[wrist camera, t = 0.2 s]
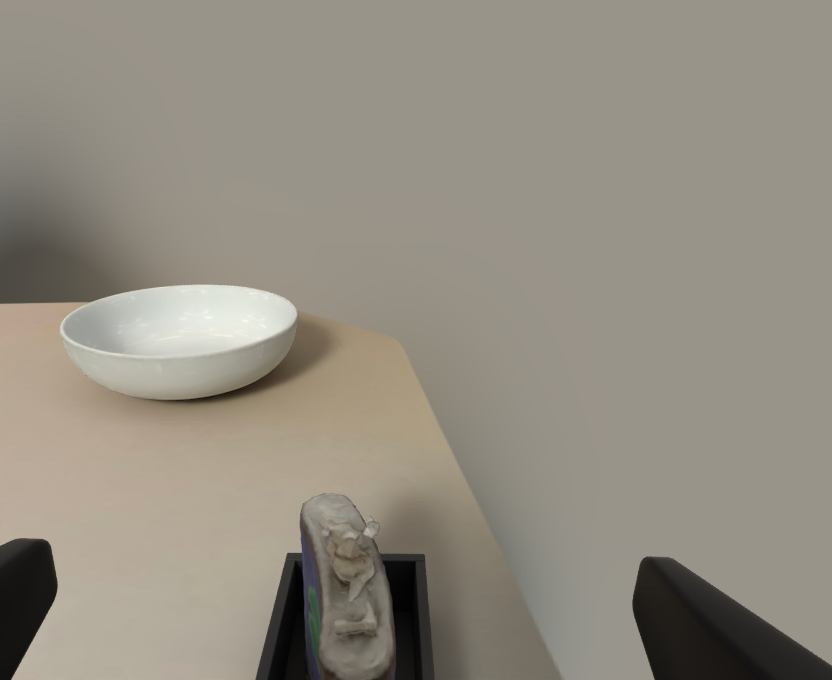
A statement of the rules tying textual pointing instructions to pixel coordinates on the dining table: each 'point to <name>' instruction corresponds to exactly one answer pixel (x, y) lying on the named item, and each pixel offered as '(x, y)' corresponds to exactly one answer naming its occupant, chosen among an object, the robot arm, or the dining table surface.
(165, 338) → the serving bowl
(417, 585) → the open box
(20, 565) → the robot arm
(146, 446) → the dining table surface
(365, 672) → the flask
